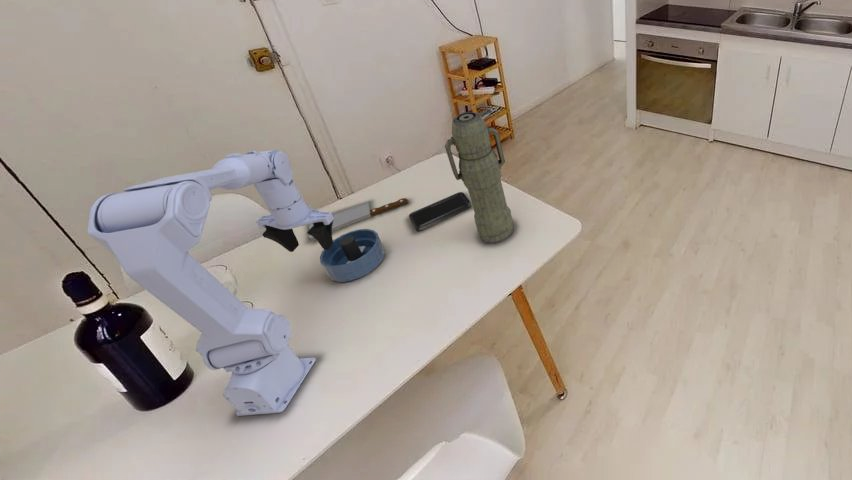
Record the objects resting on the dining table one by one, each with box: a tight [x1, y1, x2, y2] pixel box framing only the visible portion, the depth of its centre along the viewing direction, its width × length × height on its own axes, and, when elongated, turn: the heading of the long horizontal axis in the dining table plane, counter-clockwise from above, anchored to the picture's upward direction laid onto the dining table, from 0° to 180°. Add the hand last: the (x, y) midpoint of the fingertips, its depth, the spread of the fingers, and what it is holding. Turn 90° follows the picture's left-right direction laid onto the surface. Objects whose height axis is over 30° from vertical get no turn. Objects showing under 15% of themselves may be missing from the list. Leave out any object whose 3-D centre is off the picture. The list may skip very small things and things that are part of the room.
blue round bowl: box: [319, 228, 386, 283], centre depth 99 cm, size 12×12×6 cm
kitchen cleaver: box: [308, 197, 409, 242], centre depth 115 cm, size 24×1×10 cm
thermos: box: [444, 111, 515, 245], centre depth 100 cm, size 9×12×35 cm
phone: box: [408, 191, 472, 232], centre depth 115 cm, size 8×1×15 cm
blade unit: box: [339, 236, 366, 264], centre depth 98 cm, size 6×4×7 cm, turn 3°
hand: (311, 247), depth 92 cm, fingers open, 7 cm apart
